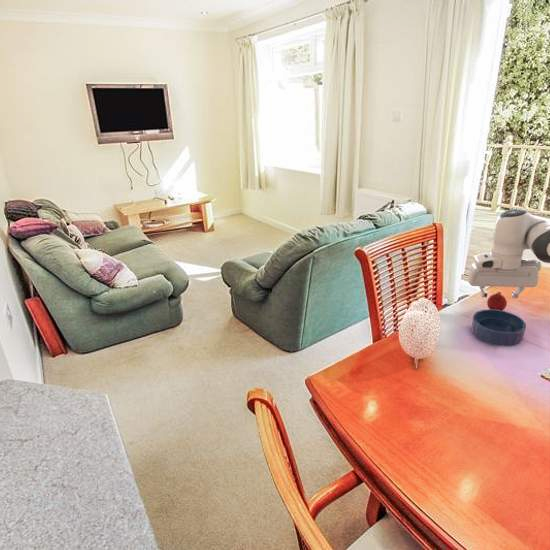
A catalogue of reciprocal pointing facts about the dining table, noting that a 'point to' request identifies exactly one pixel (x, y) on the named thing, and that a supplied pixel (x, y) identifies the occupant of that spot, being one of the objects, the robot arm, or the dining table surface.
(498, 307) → the onion
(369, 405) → the dining table surface
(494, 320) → the bowl
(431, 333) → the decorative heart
